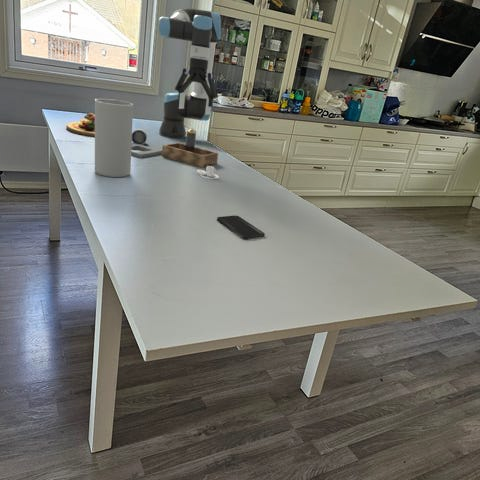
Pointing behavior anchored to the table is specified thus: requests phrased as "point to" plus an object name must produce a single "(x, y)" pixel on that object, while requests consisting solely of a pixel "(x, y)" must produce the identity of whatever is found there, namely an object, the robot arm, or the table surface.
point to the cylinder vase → (113, 137)
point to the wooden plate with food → (84, 126)
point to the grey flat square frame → (147, 151)
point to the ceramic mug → (139, 136)
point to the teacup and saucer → (208, 172)
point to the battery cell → (190, 140)
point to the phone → (240, 227)
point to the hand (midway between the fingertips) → (194, 111)
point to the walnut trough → (190, 155)
